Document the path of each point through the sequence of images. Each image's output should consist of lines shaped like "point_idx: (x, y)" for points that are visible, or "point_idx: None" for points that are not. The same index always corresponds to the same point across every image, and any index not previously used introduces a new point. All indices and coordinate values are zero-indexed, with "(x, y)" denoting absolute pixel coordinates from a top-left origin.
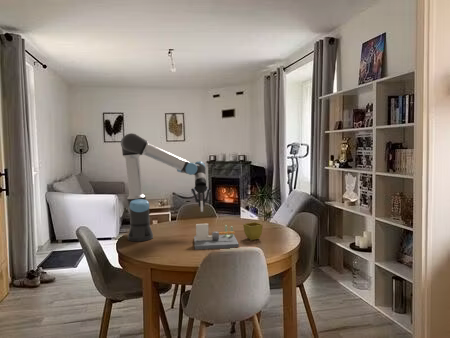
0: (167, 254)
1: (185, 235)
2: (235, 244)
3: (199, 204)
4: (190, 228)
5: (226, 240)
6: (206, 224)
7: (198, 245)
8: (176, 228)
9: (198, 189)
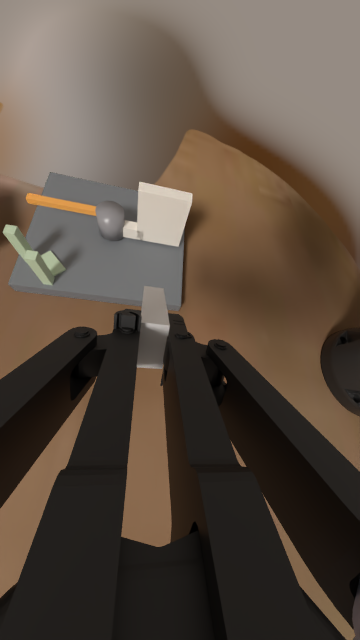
0: (246, 199)
1: None
2: (61, 175)
3: (176, 318)
4: None
5: (75, 216)
6: (147, 184)
7: None
8: None
9: (288, 597)
